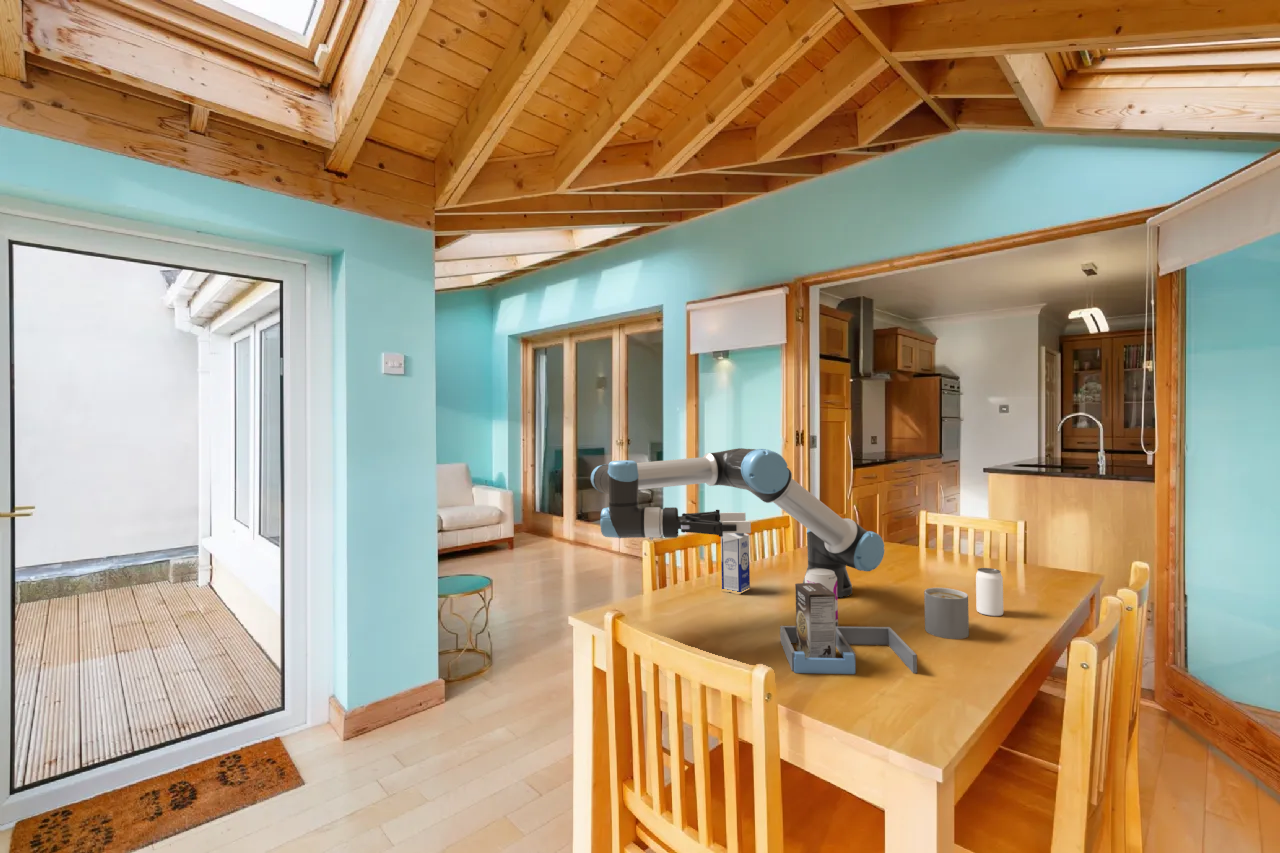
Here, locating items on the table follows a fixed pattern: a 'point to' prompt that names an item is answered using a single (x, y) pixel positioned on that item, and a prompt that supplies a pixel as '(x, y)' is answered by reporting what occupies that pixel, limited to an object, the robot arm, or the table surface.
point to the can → (989, 592)
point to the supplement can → (824, 582)
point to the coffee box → (815, 620)
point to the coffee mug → (946, 613)
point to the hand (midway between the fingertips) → (748, 522)
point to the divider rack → (845, 649)
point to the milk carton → (735, 561)
